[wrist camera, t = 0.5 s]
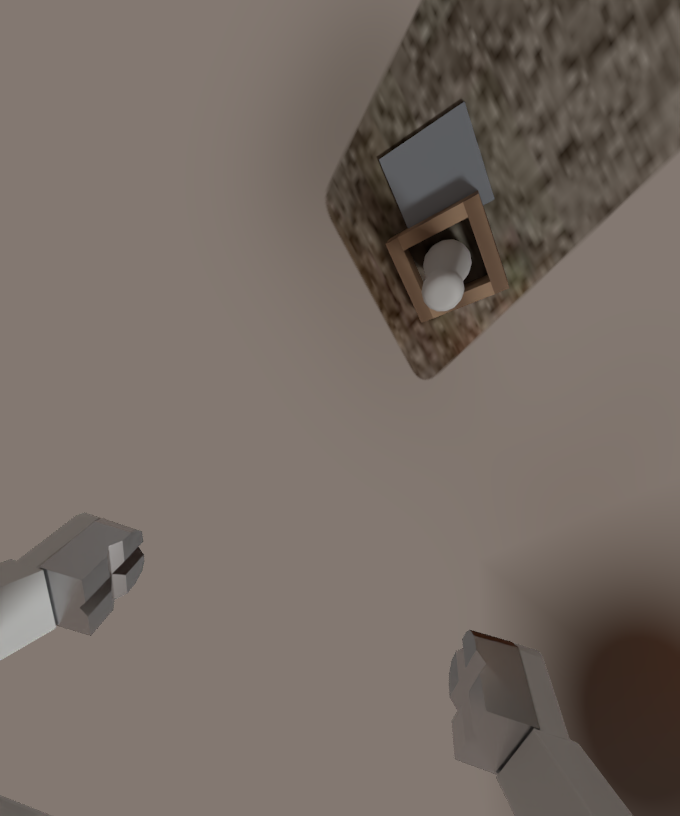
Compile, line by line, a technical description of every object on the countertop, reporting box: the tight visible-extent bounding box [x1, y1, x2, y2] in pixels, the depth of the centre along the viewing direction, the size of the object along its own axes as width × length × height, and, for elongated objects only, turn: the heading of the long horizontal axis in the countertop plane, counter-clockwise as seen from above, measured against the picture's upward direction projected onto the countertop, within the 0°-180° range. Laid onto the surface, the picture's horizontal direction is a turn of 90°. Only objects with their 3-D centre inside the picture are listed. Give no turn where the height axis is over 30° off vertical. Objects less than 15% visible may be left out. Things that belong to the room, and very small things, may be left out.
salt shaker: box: [422, 239, 472, 311], centre depth 42 cm, size 6×6×13 cm
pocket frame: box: [385, 191, 509, 323], centre depth 46 cm, size 11×11×3 cm
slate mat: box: [379, 102, 494, 229], centre depth 42 cm, size 10×10×1 cm
